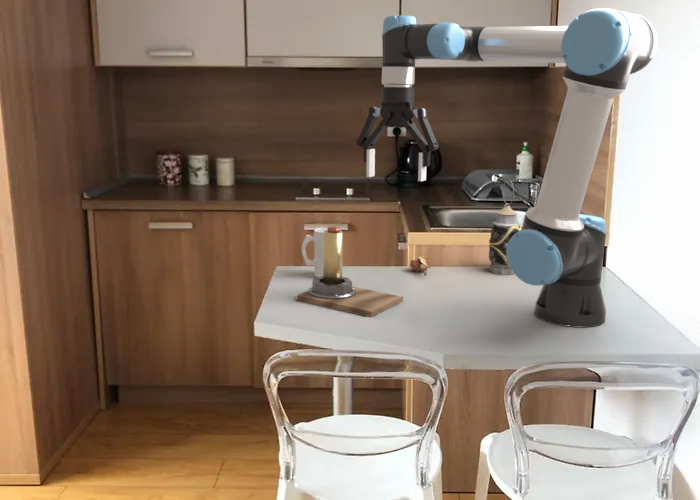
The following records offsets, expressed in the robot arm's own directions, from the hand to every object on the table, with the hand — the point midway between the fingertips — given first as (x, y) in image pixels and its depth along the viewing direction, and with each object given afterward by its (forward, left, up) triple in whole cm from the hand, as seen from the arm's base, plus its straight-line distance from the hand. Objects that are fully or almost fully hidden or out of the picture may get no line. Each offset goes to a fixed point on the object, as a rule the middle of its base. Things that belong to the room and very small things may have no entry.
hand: (395, 178), depth 181 cm
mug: (+21, 0, -28) cm, 35 cm away
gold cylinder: (+8, +14, -26) cm, 30 cm away
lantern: (-15, -34, -28) cm, 46 cm away
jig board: (+3, +14, -27) cm, 31 cm away
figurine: (+2, -19, -28) cm, 34 cm away
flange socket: (+8, +14, -26) cm, 31 cm away
